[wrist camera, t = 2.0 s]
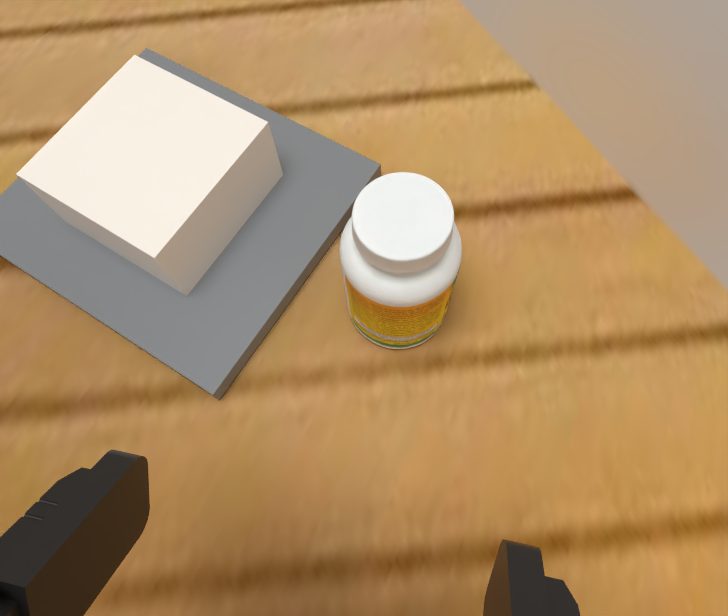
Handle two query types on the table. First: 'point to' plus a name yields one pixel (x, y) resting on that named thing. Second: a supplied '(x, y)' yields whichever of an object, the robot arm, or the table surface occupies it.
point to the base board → (228, 272)
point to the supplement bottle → (400, 259)
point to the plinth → (157, 171)
